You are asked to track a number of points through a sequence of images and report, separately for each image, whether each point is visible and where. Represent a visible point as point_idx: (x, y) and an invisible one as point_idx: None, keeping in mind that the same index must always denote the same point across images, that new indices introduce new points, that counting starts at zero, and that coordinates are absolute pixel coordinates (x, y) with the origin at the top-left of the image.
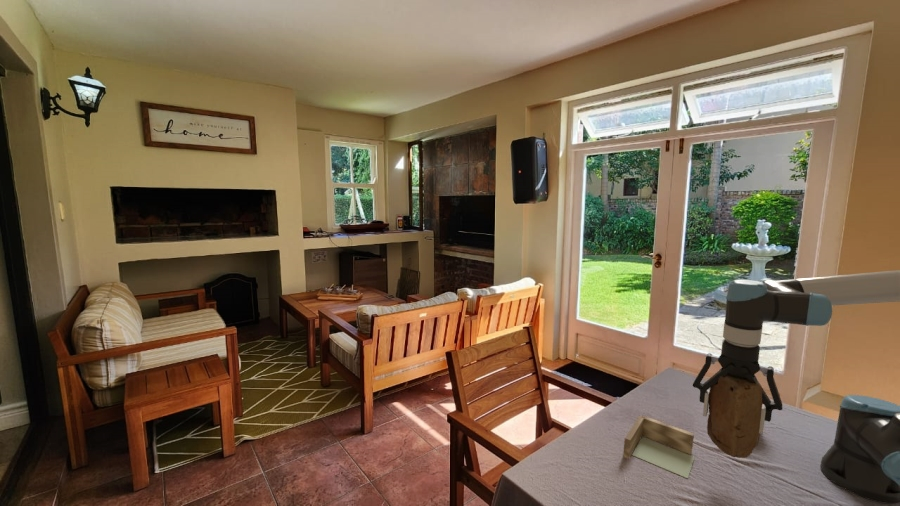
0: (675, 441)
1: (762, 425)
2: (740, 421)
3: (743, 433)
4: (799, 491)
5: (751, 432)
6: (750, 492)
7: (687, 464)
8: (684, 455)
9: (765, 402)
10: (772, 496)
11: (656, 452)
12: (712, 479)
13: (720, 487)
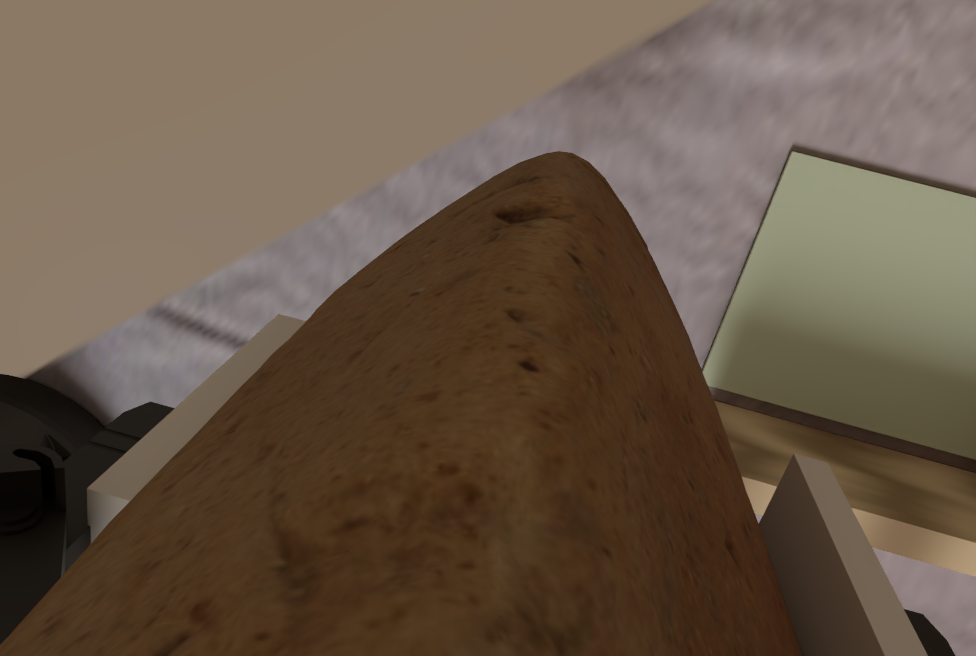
0: (812, 451)
1: (244, 362)
2: (486, 246)
3: (462, 217)
4: (240, 311)
5: (377, 267)
6: (455, 192)
7: (759, 292)
8: (757, 374)
9: (3, 592)
10: (357, 211)
11: (942, 335)
12: (636, 216)
13: (606, 159)
